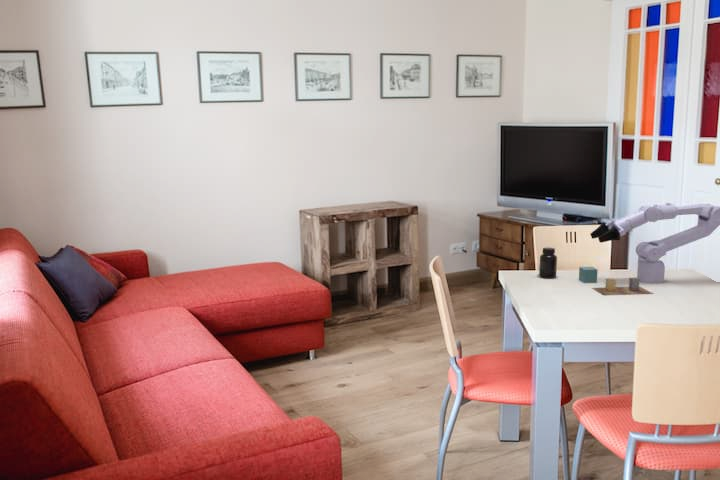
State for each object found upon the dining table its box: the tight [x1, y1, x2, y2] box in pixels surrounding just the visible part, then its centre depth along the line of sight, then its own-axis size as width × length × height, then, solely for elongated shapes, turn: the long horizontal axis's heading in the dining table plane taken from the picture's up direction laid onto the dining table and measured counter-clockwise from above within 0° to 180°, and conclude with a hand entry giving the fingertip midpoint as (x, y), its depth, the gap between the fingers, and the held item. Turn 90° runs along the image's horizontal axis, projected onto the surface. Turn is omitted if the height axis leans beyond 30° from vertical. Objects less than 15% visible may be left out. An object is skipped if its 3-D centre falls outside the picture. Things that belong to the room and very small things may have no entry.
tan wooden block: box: [605, 277, 617, 292], centre depth 247 cm, size 3×3×5 cm
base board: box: [591, 285, 654, 296], centre depth 248 cm, size 19×11×1 cm, turn 94°
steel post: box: [628, 277, 640, 291], centre depth 247 cm, size 3×3×5 cm
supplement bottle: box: [538, 247, 558, 279], centre depth 273 cm, size 7×7×12 cm
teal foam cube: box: [578, 266, 598, 284], centre depth 263 cm, size 5×5×6 cm
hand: (595, 238), depth 258 cm, fingers open, 7 cm apart
